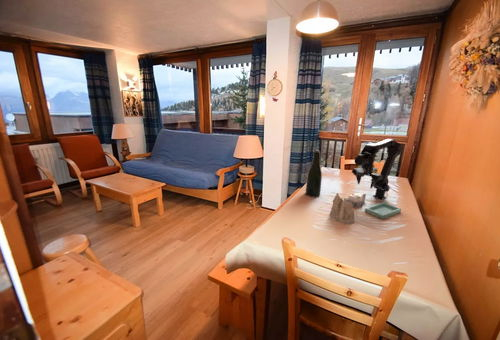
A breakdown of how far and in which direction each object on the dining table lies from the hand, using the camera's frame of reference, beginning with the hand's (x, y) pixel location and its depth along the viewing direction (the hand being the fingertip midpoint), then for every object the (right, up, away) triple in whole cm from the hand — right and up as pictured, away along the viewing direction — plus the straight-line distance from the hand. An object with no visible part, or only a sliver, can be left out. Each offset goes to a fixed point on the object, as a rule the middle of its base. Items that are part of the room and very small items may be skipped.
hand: (364, 186), depth 149 cm
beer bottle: (-31, -7, +14) cm, 35 cm away
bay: (-9, -12, -1) cm, 15 cm away
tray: (+5, -15, -11) cm, 20 cm away
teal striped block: (-4, -12, +1) cm, 12 cm away
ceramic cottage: (-22, -17, -18) cm, 33 cm away
